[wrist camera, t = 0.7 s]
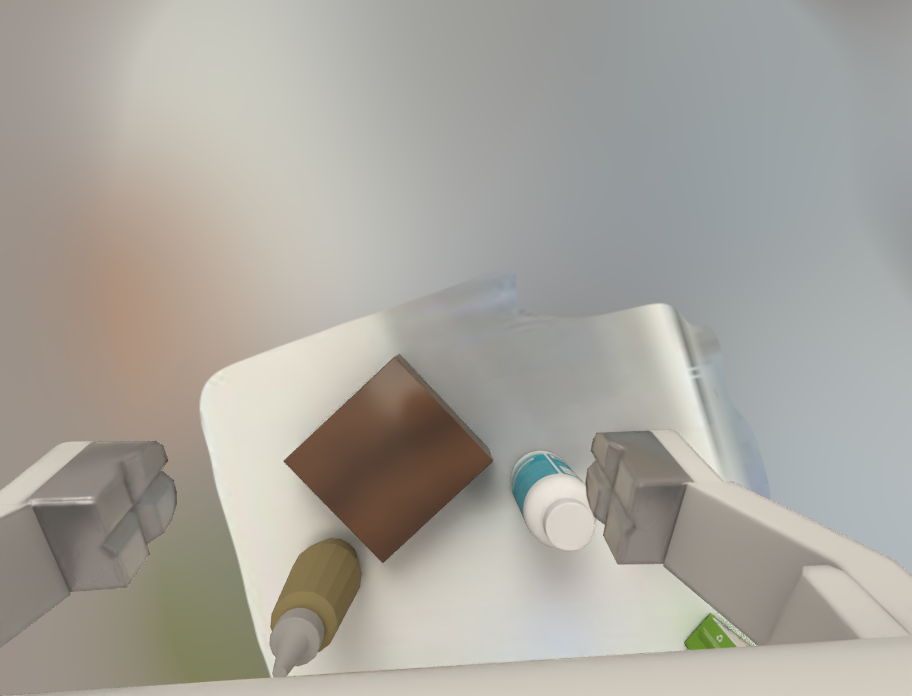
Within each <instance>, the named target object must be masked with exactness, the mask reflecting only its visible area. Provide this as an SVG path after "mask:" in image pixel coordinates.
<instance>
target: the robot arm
mask: <svg viewBox="0 0 912 696" xmlns="http://www.w3.org/2000/svg"><path fill="white" fill-rule="evenodd" d="M591 451H592V453H593V455H594V457H595V458H596V461H595V462H594V463H593V464H592V465H591V466H590V467H589V468H588V469H587V476H586V495H587V500H588V503H589V507H590V509H591V511H592V513H593V516H594V517H595V518H596V519H598V520H599V521H600V522H602V523H603V524H605V528H604V533H603V536H604V538H605V540H606V542H607V544H608V546H609V548H610V550H611V552H612V554H613V556H614V558H615V560H616V562H617V564H664V565H663V566H664V567H665V568H666V569H667V570H669V571H670V572H671V573H672V574H673V575H675V576H676V577H677V578H678V579H679V580H681V581H682V582H683V583H684V584H685V585H686V586H688V587H689V588H690V589H691V590H692V591H694V592H695V593H696V594H697V595H698V596H700V597H701V598H702V599H703V600H704V601H705V602H707V603H708V604H709V605H710V606H711V607H713V608H714V609H715V610H716V611H717V612H719V613H720V614H721V615H722V616H723V617H724V618H726V619H727V620H728V621H729V622H730V623H732V624H733V625H734V626H735V627H736V628H738V629H739V630H740V631H741V632H742V633H743V634H745V635H746V636H747V637H748V638H749V639H751V640H752V641H753V642H754V643H755V644H757V645H758V646H746V647H731V648H716V649H700V650H685V651H670V652H655V653H639V654H624V655H609V656H594V657H578V658H563V659H548V660H533V661H517V662H502V663H487V664H472V665H457V666H441V667H426V668H411V669H396V670H381V671H366V672H350V673H335V674H320V675H305V676H290V677H275V678H259V679H244V680H230V681H213V682H198V683H183V684H168V685H153V686H137V687H122V688H106V689H91V690H76V691H62V692H61V691H60V692H47V693H46V692H45V693H30V694H16V695H0V696H912V574H911V573H909V572H908V571H907V570H906V569H905V568H904V567H902V566H901V565H900V564H899V563H898V562H897V561H895V560H894V559H892V558H890V557H888V556H885V555H883V554H881V553H879V552H877V551H875V550H873V549H871V548H869V547H867V546H864V545H863V544H860V543H858V542H857V541H854V540H852V539H850V538H848V537H846V536H844V535H842V534H840V533H838V532H836V531H834V530H831V529H830V528H827V527H825V526H823V525H821V524H819V523H817V522H815V521H813V520H811V519H809V518H807V517H805V516H803V515H800V514H798V513H796V512H794V511H792V510H790V509H788V508H786V507H784V506H782V505H780V504H778V503H776V502H774V501H771V500H769V499H767V498H765V497H763V496H761V495H759V494H757V493H755V492H753V491H751V490H749V489H747V488H745V487H742V486H740V485H738V484H736V483H734V482H724V481H723V480H722V479H721V478H720V477H719V476H718V475H717V474H716V473H715V472H714V470H713V469H712V468H711V467H710V466H709V465H708V464H707V463H706V462H705V461H704V460H703V459H702V458H701V457H700V456H699V455H698V454H697V453H696V451H695V450H694V449H693V448H692V447H691V446H690V445H689V444H688V443H687V442H686V441H685V440H684V439H683V438H682V437H681V436H680V435H679V434H678V432H676V431H673V430H671V429H664V430H646V431H632V432H605V433H596V435H595V437H594V439H593V442H592V447H591ZM167 462H168V458H167V455H166V452H165V450H164V446H163V445H162V444H160V443H158V442H156V441H98V442H95V441H81V442H67V443H63V444H58V445H57V446H56V447H55V448H53V449H52V450H51V451H50V452H48V453H47V454H46V455H45V456H44V457H42V458H41V459H40V460H38V461H37V462H36V463H35V464H33V465H32V466H31V467H30V468H29V469H27V470H26V471H25V472H23V473H22V474H21V475H20V476H18V477H17V478H16V479H15V480H13V481H12V482H11V483H10V484H8V485H7V486H6V487H5V488H3V489H2V490H1V491H0V648H1V647H2V646H3V645H5V644H6V643H7V642H9V641H10V640H11V639H13V638H14V637H15V636H17V635H18V634H19V633H21V632H22V631H23V630H25V629H26V628H27V627H28V626H30V625H31V624H32V623H34V622H35V621H36V620H38V619H39V618H40V617H42V616H43V615H44V614H46V613H47V612H48V611H50V610H51V609H52V608H54V607H55V606H56V605H58V604H59V603H60V602H62V601H63V600H64V599H65V598H67V597H68V596H69V595H70V592H75V591H87V590H88V591H89V590H102V589H114V588H127V587H128V586H129V584H130V583H131V581H132V580H133V578H134V577H135V575H136V574H137V572H138V571H139V569H140V568H141V566H142V565H143V563H144V562H145V560H146V559H147V557H148V556H149V555H150V552H149V548H148V543H150V542H151V541H153V540H154V539H156V538H157V537H159V536H160V535H162V534H163V533H164V532H165V530H166V528H167V527H168V526H169V524H170V522H171V521H172V518H173V515H174V511H175V508H176V504H177V495H176V494H177V492H176V487H175V484H174V480H173V479H171V478H170V477H169V476H168V475H167V474H166V473H164V472H163V471H162V470H163V468H164V467H165V465H166V463H167Z"/></svg>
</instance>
